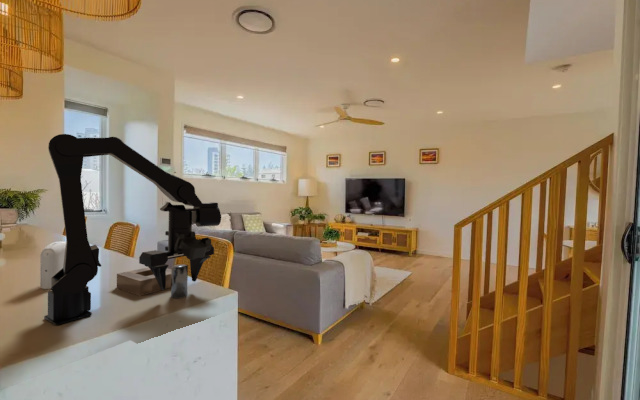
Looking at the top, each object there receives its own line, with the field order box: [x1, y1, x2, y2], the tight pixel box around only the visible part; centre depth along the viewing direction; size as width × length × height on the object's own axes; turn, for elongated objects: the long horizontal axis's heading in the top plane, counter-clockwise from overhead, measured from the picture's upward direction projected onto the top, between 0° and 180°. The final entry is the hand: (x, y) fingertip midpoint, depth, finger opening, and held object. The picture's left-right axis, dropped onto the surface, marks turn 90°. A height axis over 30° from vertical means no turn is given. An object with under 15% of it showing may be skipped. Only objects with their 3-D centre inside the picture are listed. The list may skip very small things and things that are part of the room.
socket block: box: [116, 267, 171, 297], centre depth 89 cm, size 12×12×4 cm
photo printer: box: [39, 240, 66, 290], centre depth 89 cm, size 10×4×12 cm, turn 17°
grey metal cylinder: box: [170, 264, 189, 299], centre depth 82 cm, size 4×4×8 cm
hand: (179, 285), depth 82 cm, fingers open, 9 cm apart
